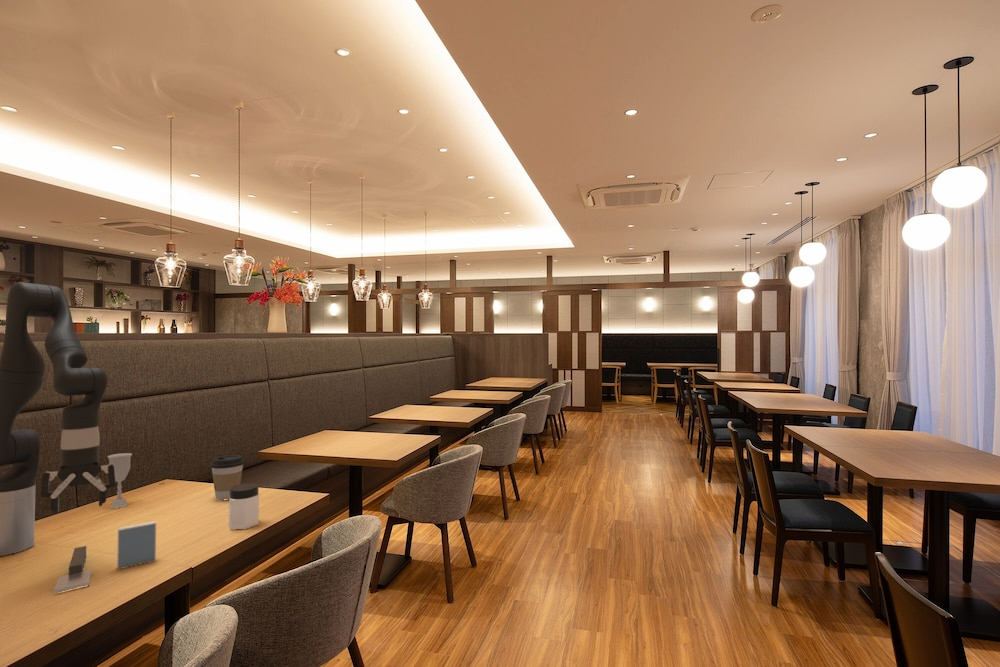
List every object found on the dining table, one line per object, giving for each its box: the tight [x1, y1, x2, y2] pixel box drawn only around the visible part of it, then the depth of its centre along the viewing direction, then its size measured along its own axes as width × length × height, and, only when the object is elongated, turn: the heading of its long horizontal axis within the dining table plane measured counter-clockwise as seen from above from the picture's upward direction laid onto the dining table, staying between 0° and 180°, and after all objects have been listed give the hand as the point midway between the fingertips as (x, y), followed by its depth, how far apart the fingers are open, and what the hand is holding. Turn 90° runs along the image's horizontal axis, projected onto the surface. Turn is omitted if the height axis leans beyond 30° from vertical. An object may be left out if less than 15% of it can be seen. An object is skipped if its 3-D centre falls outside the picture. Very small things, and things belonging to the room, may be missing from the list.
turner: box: [53, 545, 92, 594], centre depth 119 cm, size 22×6×3 cm, turn 38°
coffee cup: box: [209, 454, 245, 501], centre depth 179 cm, size 11×11×15 cm
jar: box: [228, 483, 260, 531], centre depth 151 cm, size 9×8×12 cm
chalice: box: [107, 452, 133, 509], centre depth 170 cm, size 7×7×18 cm
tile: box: [116, 520, 157, 569], centre depth 124 cm, size 8×2×10 cm, turn 127°
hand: (79, 508), depth 122 cm, fingers open, 8 cm apart
